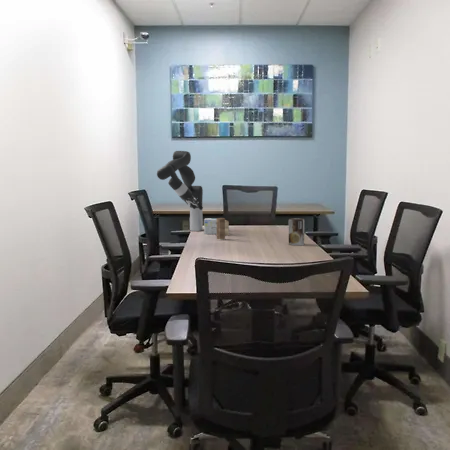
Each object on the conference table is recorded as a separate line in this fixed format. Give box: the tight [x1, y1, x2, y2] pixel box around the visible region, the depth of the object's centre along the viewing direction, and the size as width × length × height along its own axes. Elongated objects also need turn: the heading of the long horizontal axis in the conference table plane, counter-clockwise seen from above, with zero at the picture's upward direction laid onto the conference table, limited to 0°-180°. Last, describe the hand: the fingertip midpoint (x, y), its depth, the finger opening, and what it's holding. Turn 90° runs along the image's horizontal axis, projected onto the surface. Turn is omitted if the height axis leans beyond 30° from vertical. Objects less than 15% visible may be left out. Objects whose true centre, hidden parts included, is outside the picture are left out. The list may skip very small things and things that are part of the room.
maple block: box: [225, 219, 230, 237], centre depth 318 cm, size 4×4×10 cm
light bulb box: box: [203, 217, 217, 235], centre depth 325 cm, size 11×7×11 cm, turn 84°
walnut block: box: [216, 217, 226, 241], centre depth 301 cm, size 4×4×14 cm
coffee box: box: [287, 217, 306, 246], centre depth 281 cm, size 9×6×16 cm
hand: (198, 208), depth 288 cm, fingers open, 7 cm apart
